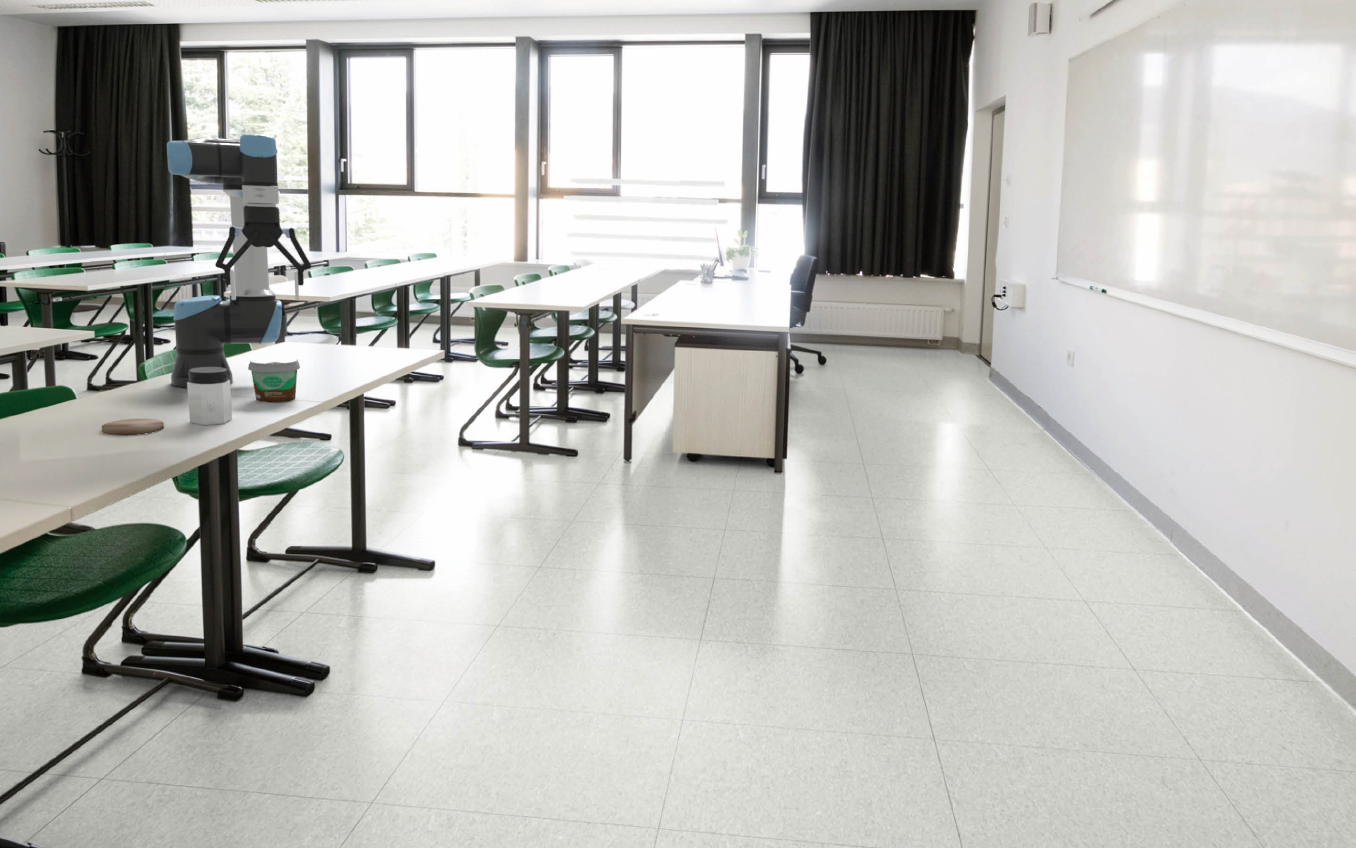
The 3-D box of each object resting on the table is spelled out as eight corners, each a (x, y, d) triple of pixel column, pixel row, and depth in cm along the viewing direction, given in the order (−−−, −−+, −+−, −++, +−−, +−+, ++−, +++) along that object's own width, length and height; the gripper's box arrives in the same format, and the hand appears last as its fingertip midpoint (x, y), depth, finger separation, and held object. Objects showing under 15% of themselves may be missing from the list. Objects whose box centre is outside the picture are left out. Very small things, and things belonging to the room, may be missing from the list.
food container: (252, 404, 251) (249, 364, 248) (249, 400, 256) (247, 361, 254) (304, 402, 256) (302, 363, 254) (301, 397, 262) (299, 359, 259)
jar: (192, 426, 226) (189, 373, 223) (187, 419, 233) (183, 367, 230) (235, 423, 231) (232, 371, 228) (228, 416, 237) (225, 365, 235)
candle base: (100, 425, 223) (99, 421, 223) (160, 421, 230) (160, 416, 230) (103, 437, 214) (103, 432, 213) (167, 432, 220) (166, 427, 220)
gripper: (198, 203, 221) (204, 300, 226) (319, 207, 229) (323, 301, 234) (202, 202, 228) (208, 297, 232) (319, 206, 236) (322, 297, 241)
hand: (265, 299), depth 233 cm, fingers open, 13 cm apart
